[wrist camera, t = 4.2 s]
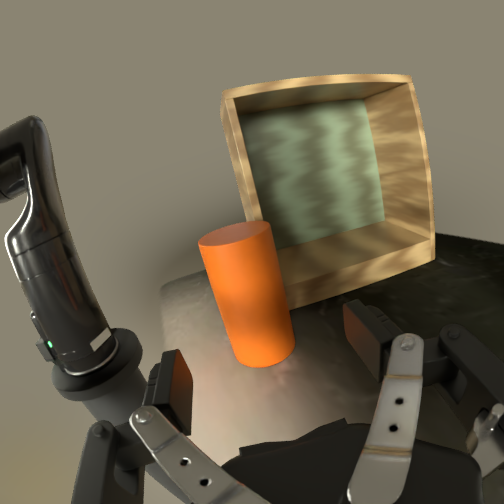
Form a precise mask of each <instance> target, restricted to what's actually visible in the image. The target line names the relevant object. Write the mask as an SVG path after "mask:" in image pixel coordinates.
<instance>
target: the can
mask: <svg viewBox="0 0 504 504" xmlns="http://www.w3.org/2000/svg"><path fill="white" fill-rule="evenodd" d="M198 245H199V248H200V252H201V255H202V258H203V261H204V264H205V268H206V271H207V274H208V277H209V280H210V283H211V286H212V289H213V293H214V296H215V299H216V302H217V305H218V308H219V310H220V313H221V316H222V319H223V322H224V325H225V328H226V331H227V334H228V337H229V339H230V342H231V345H232V348H233V351H234V353H235V356H236V358H237V360H238V361H239V362H240V363H242V364H244V365H246V366H249V367H267V366H271V365H274V364H276V363H279V362H281V361H282V360H284V359H285V358H287V357H288V356H289V355H290V354H291V352H292V351H293V349H294V347H295V337H294V332H293V327H292V323H291V318H290V313H289V308H288V303H287V299H286V294H285V289H284V285H283V280H282V275H281V271H280V266H279V262H278V257H277V252H276V248H275V244H274V239H273V235H272V230H271V226H270V224H269V223H268V222H266V221H248V222H242V223H237V224H233V225H229V226H226V227H223V228H220V229H217V230H215V231H213V232H210V233H208V234H207V235H205V236H204V237H202V238H201V239H200V240H199V242H198Z"/></svg>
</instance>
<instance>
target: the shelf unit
mask: <svg viewBox="0 0 504 504" xmlns="http://www.w3.org/2000/svg"><path fill="white" fill-rule="evenodd" d="M412 83H413V82H412V79H411V76H410V75H396V74H343V75H325V76H312V77H302V78H293V79H285V80H277V81H271V82H264V83H258V84H252V85H247V86H242V87H237V88H232V89H227V90H223V91H222V100H221V109H220V116H221V120H222V124H223V128H224V132H225V136H226V140H227V144H228V148H229V151H230V156H231V160H232V163H233V168H234V172H235V176H236V180H237V183H238V187H239V191H240V195H241V199H242V203H243V207H244V211H245V215H246V219H247V222H248V221H266V222H268V223H269V224H270V226H271V230H272V235H273V239H274V244H275V248H276V252H277V257H278V262H279V266H280V271H281V275H282V280H283V285H284V289H285V294H286V299H287V303H288V308H289V310H292V309H295V308H298V307H302V306H305V305H308V304H312V303H315V302H318V301H321V300H324V299H327V298H330V297H333V296H337V295H340V294H343V293H346V292H349V291H351V290H354V289H357V288H360V287H363V286H366V285H369V284H372V283H374V282H377V281H380V280H383V279H385V278H388V277H391V276H394V275H396V274H399V273H402V272H404V271H407V270H409V269H412V268H415V267H417V266H420V265H422V264H425V263H427V262H430V261H432V260H434V259H435V223H434V204H433V192H432V182H431V173H430V165H429V158H428V151H427V145H426V139H425V134H424V128H423V123H422V118H421V114H420V109H419V105H418V101H417V97H416V93H415V89H414V86H413V84H412Z"/></svg>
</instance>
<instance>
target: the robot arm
mask: <svg viewBox="0 0 504 504" xmlns="http://www.w3.org/2000/svg"><path fill="white" fill-rule="evenodd" d="M26 192H27V203H26V206H25V208H24V210H23V212H22V214H21V216H20V218H19V219H18V220H17V222H16V223H15V224H14V225H13V227H12V228H11V229H10V230H9V231H8V233H7V234H6V236H5V244H6V248H7V251H8V254H9V257H11V262H12V265H13V267H14V270H15V272H16V275H17V277H18V280H19V282H20V284H21V287H22V289H23V291H24V294H25V296H26V298H27V300H28V302H29V304H30V307H31V308H32V312H31V314H30V317H31V319H32V321H33V323H34V325H35V327H36V329H37V331H38V333H39V334H40V336H41V338H40V339H39V340H38V341H37V343H36V346H37V347H38V349H39V351H40V352H41V354H42V355H43V357H44V359H45V360H46V362H51V361H52V362H53V363H54V364H55V365H56V366H59V368H60V369H61V371H62V372H67V373H68V374H69V375H70V376H73V377H85V376H88V375H91V374H94V373H96V372H98V371H100V370H101V369H103V368H104V367H106V366H107V365H108V364H109V363H110V362H111V361H112V360H113V359H114V358H115V357H116V355H117V353H118V351H119V343H118V341H117V339H116V337H115V336H114V334H113V332H112V331H111V329H110V327H109V325H108V323H107V321H106V318H105V316H104V314H103V312H102V310H101V308H100V306H99V304H98V302H97V299H96V297H95V295H94V293H93V290H92V288H91V286H90V283H89V281H88V279H87V276H86V274H85V271H84V269H83V266H82V264H81V261H80V258H79V256H78V253H77V250H76V248H75V245H74V242H73V239H72V236H71V233H70V231H69V228H68V224H67V221H66V218H65V213H64V208H63V204H62V200H61V196H60V193H59V188H58V184H57V179H56V173H55V167H54V161H53V154H52V148H51V143H50V139H49V134H48V132H47V129H46V126H45V124H44V123H43V121H42V120H41V119H40V118H39V117H37V116H28V117H26V118H24V119H22V120H20V121H18V122H16V123H14V124H12V125H10V126H9V127H7V128H5V129H3V130H2V131H0V203H5V202H8V201H10V200H12V199H14V198H16V197H18V196H20V195H22V194H24V193H26ZM343 317H344V328H345V334H346V337H347V339H348V341H349V343H350V344H351V345H352V347H353V348H354V350H355V351H356V352H357V354H358V355H359V356H360V358H361V359H362V361H363V362H364V363H365V365H366V366H367V368H368V369H369V370H370V372H371V373H372V375H373V376H374V377H375V379H376V380H377V382H378V383H380V382H382V381H383V383H382V387H381V391H380V395H379V399H378V403H377V407H376V410H375V414H374V417H373V421H372V424H365V423H354V424H347V422H346V420H345V418H343V419H340V420H337V421H335V422H332V423H329V424H326V425H323V426H320V427H318V428H316V429H315V430H313V431H311V432H309V433H307V434H306V435H304V436H302V437H300V438H298V439H296V440H293V441H281V442H264V443H260V444H255V445H250V446H246V447H240V448H239V451H240V455H239V456H236V457H234V458H232V459H231V460H229V461H228V462H226V463H225V464H224V465H222V466H221V467H220V466H219V465H217V464H216V463H215V462H214V461H213V460H211V459H210V458H209V457H208V456H207V455H206V454H205V453H204V452H202V451H201V450H200V449H199V448H198V447H197V446H196V445H195V444H194V443H193V442H192V441H191V440H190V439H188V438H187V437H186V436H190V435H191V421H192V397H193V379H192V375H191V373H190V370H189V368H188V366H187V364H186V362H185V360H184V358H183V356H182V354H181V352H180V350H179V349H176V350H171V351H166V352H163V354H162V359H161V363H158V364H155V366H154V367H153V368H152V370H151V371H150V375H149V380H148V383H147V387H146V391H145V395H144V400H143V404H142V407H140V408H138V409H137V410H135V411H134V412H133V414H132V415H131V417H130V421H129V422H127V423H124V424H121V425H118V426H115V427H114V426H113V425H112V423H111V422H109V421H105V420H102V421H98V422H96V423H94V424H93V425H92V426H91V427H90V428H89V430H88V432H87V436H86V440H85V443H84V447H83V451H82V455H81V459H80V463H79V467H78V472H77V476H76V481H75V485H74V490H73V496H72V501H71V504H143V496H144V475H145V474H144V473H145V465H148V464H151V463H154V462H157V463H158V464H159V465H160V466H161V468H162V469H163V470H164V471H165V472H166V474H167V475H168V476H169V477H170V478H171V479H172V480H173V482H174V483H175V484H176V485H177V486H178V487H179V488H180V489H181V490H182V491H183V493H184V494H185V495H186V496H187V497H188V498H189V499H190V500H191V501H192V503H191V504H485V501H484V497H483V490H482V481H483V480H484V479H486V478H487V477H488V476H490V475H491V474H492V473H493V472H495V471H496V470H497V469H499V470H500V469H504V363H503V362H502V361H501V360H500V359H499V358H498V357H497V356H496V355H495V354H494V353H493V352H492V351H491V350H490V349H488V348H487V347H486V346H485V345H484V344H483V343H482V342H481V341H480V340H479V339H477V338H476V337H475V336H474V335H473V334H472V333H471V332H470V331H468V330H467V329H466V328H465V327H464V326H462V325H459V324H448V325H445V326H444V327H442V328H441V330H440V333H439V337H434V338H430V339H425V340H422V338H421V337H420V336H418V335H416V334H412V333H406V334H405V333H404V332H403V331H402V330H401V329H400V328H399V327H398V326H397V325H396V324H395V323H394V322H393V321H392V320H391V319H389V318H388V317H387V316H386V315H385V314H384V313H383V312H382V311H381V310H380V309H379V308H376V307H374V306H371V305H369V306H365V305H364V304H363V303H362V302H361V301H360V300H359V299H356V300H353V301H350V302H347V303H344V304H343ZM432 384H433V385H434V386H435V388H436V389H437V390H438V392H439V393H440V394H441V396H442V397H443V398H444V400H445V401H446V402H447V404H448V405H449V406H450V408H451V409H452V410H453V412H454V413H455V414H456V416H457V417H458V419H459V420H460V421H461V423H462V424H463V426H464V427H465V428H466V430H467V431H468V433H467V435H466V440H465V441H466V446H467V448H468V452H469V454H468V453H466V452H463V451H459V450H455V449H451V448H447V447H443V446H439V445H436V444H432V443H429V442H425V441H422V440H418V439H415V433H416V428H417V422H418V415H419V408H420V401H421V392H422V387H424V386H428V385H432Z"/></svg>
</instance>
